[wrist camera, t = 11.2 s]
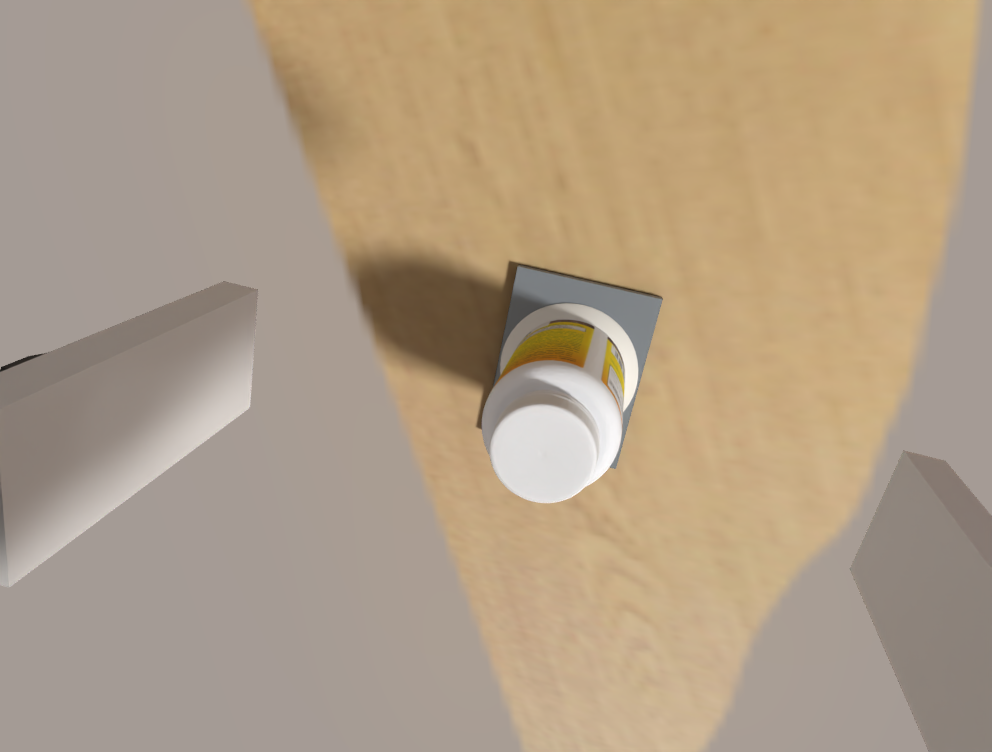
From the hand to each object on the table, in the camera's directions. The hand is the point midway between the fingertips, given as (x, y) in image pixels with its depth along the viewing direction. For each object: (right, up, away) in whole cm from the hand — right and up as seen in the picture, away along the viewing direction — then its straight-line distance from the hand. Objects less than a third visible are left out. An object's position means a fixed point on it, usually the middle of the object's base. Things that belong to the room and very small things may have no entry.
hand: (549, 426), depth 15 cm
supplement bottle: (+3, +1, +21) cm, 22 cm away
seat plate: (+3, +1, +22) cm, 22 cm away
